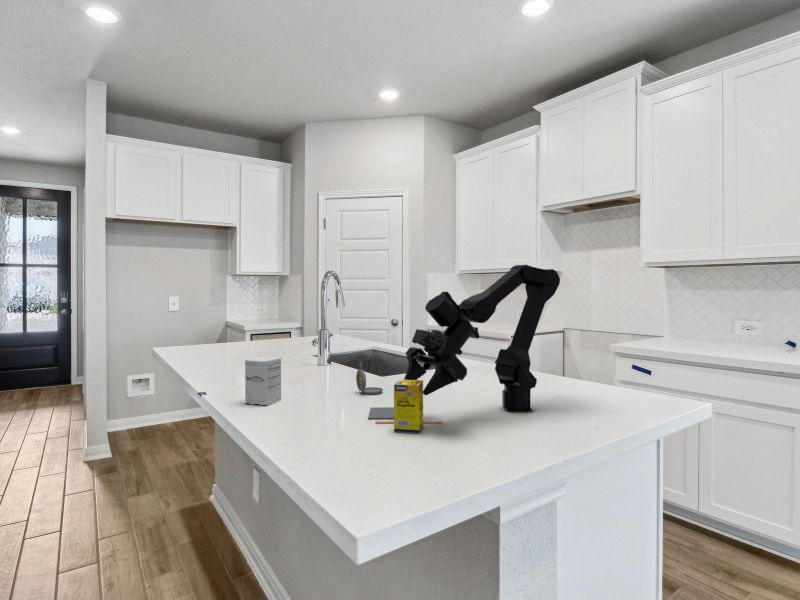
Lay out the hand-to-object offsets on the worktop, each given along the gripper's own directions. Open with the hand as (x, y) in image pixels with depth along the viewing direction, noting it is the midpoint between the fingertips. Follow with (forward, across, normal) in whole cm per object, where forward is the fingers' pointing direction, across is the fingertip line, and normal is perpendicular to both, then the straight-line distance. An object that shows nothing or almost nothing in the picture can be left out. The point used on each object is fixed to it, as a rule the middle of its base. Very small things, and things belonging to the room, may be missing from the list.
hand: (413, 390), depth 110 cm
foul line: (+5, -4, +7) cm, 10 cm away
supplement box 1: (+23, -43, -10) cm, 50 cm away
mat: (+5, -13, +8) cm, 16 cm away
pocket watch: (+2, -38, +11) cm, 40 cm away
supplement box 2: (+7, 0, +6) cm, 9 cm away
